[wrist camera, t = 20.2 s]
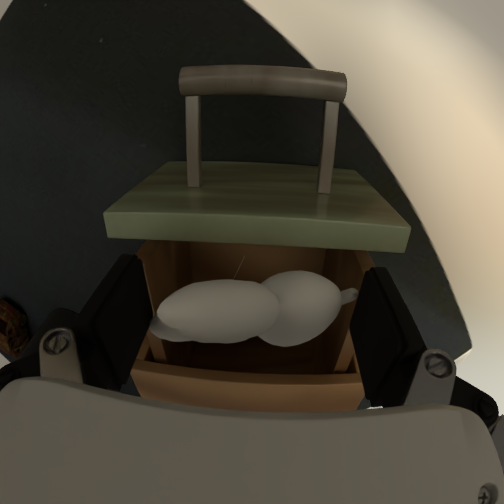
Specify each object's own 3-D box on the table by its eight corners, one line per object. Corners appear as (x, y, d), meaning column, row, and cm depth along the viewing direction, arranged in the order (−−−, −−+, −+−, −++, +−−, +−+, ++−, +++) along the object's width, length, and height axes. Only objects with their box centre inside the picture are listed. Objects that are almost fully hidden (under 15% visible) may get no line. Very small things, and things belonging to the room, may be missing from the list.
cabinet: (173, 266, 24) (127, 368, 14) (340, 275, 23) (372, 382, 14) (192, 378, 31) (175, 459, 22) (310, 385, 31) (316, 467, 22)
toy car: (-6, 285, 27) (-26, 307, 23) (29, 309, 28) (10, 334, 24) (7, 337, 33) (-7, 358, 29) (39, 358, 34) (25, 380, 30)
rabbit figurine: (305, 339, 14) (145, 367, 11) (290, 267, 16) (134, 276, 12) (398, 319, 9) (167, 374, 6) (370, 219, 11) (149, 210, 7)
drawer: (165, 77, 15) (90, 71, 8) (363, 86, 15) (435, 85, 8) (185, 324, 26) (160, 406, 18) (322, 332, 25) (336, 416, 18)
